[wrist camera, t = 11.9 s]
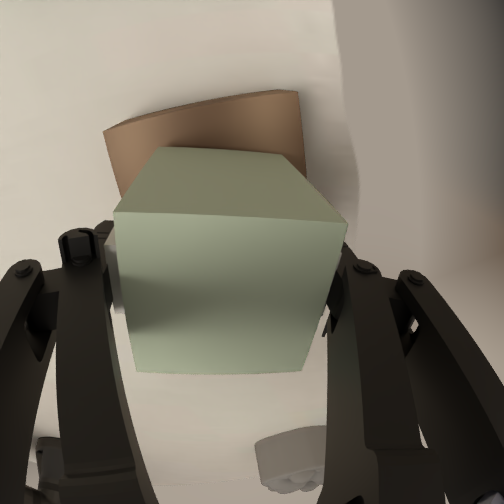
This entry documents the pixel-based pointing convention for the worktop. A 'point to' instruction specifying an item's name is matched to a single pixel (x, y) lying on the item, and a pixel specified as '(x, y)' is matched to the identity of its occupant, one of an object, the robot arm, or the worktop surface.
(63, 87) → the worktop surface
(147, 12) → the worktop surface
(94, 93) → the worktop surface
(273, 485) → the lumpy-topped squat cylinder
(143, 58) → the worktop surface
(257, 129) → the walnut block
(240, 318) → the sage block
